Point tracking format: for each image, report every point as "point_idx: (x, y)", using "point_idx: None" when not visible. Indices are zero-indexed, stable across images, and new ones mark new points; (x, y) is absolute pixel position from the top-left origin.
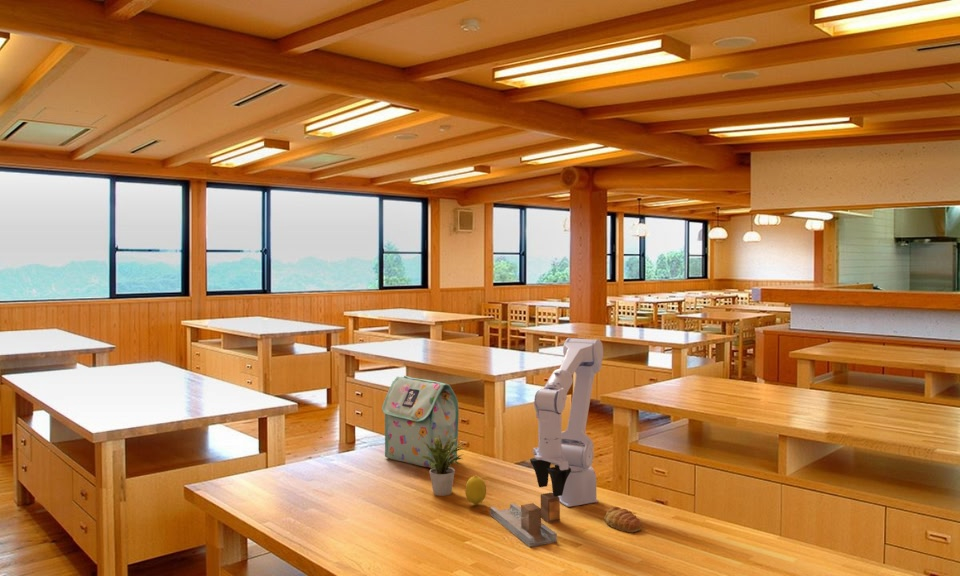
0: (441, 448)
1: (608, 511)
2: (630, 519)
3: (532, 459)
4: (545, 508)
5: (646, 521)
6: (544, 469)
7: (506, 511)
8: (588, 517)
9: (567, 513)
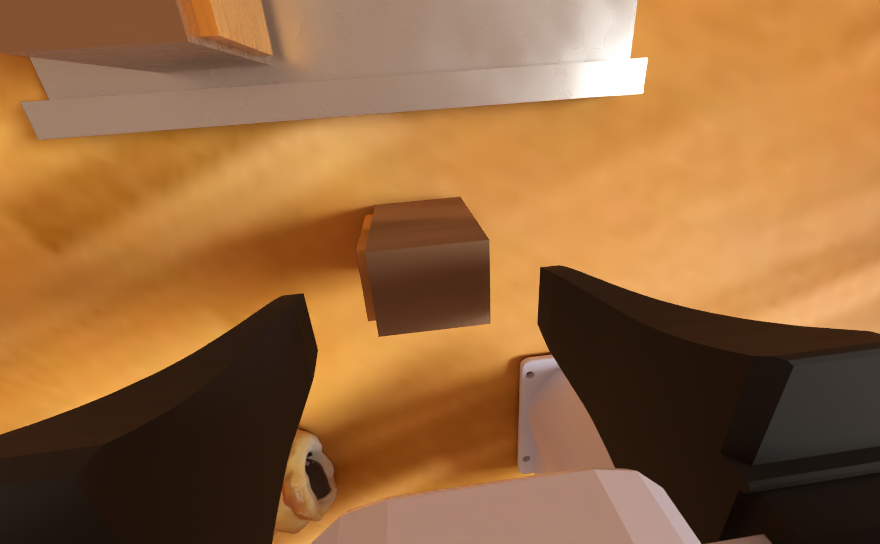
0: None
1: (289, 476)
2: None
3: (872, 386)
4: (408, 222)
5: None
6: (619, 409)
7: (597, 7)
8: (384, 390)
9: (460, 332)
